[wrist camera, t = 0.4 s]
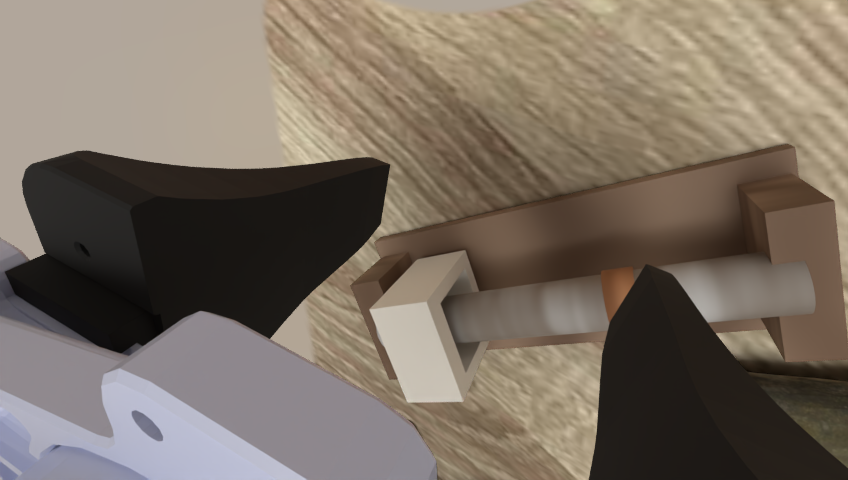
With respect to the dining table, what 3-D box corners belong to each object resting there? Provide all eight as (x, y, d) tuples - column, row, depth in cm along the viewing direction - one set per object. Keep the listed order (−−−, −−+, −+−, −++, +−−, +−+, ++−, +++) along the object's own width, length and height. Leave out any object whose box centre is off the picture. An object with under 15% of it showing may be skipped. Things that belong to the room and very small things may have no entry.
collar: (445, 337, 26) (407, 402, 21) (417, 259, 24) (369, 309, 20) (493, 332, 24) (463, 401, 19) (465, 250, 23) (426, 301, 18)
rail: (422, 347, 28) (386, 403, 24) (380, 237, 26) (332, 275, 22) (808, 316, 19) (870, 396, 15) (787, 143, 17) (851, 175, 13)
